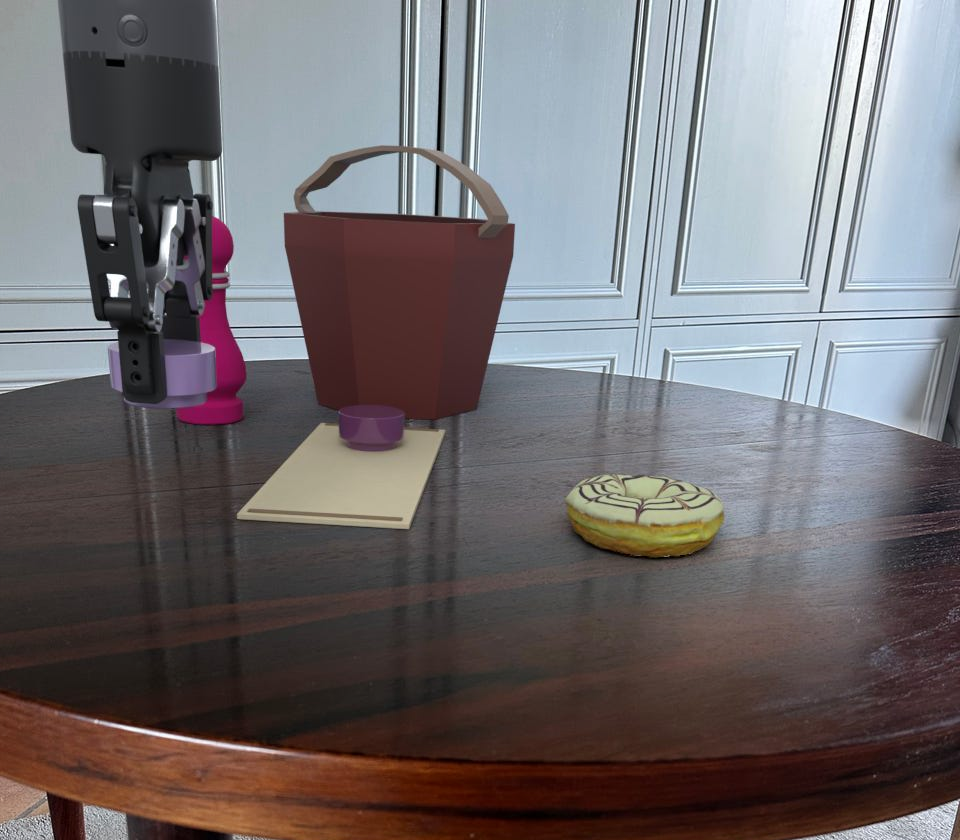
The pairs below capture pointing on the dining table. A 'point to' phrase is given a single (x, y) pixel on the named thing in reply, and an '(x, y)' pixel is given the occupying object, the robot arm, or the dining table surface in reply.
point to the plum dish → (371, 427)
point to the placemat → (348, 482)
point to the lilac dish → (177, 373)
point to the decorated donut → (644, 514)
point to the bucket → (398, 295)
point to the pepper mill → (219, 342)
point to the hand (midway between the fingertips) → (165, 389)
